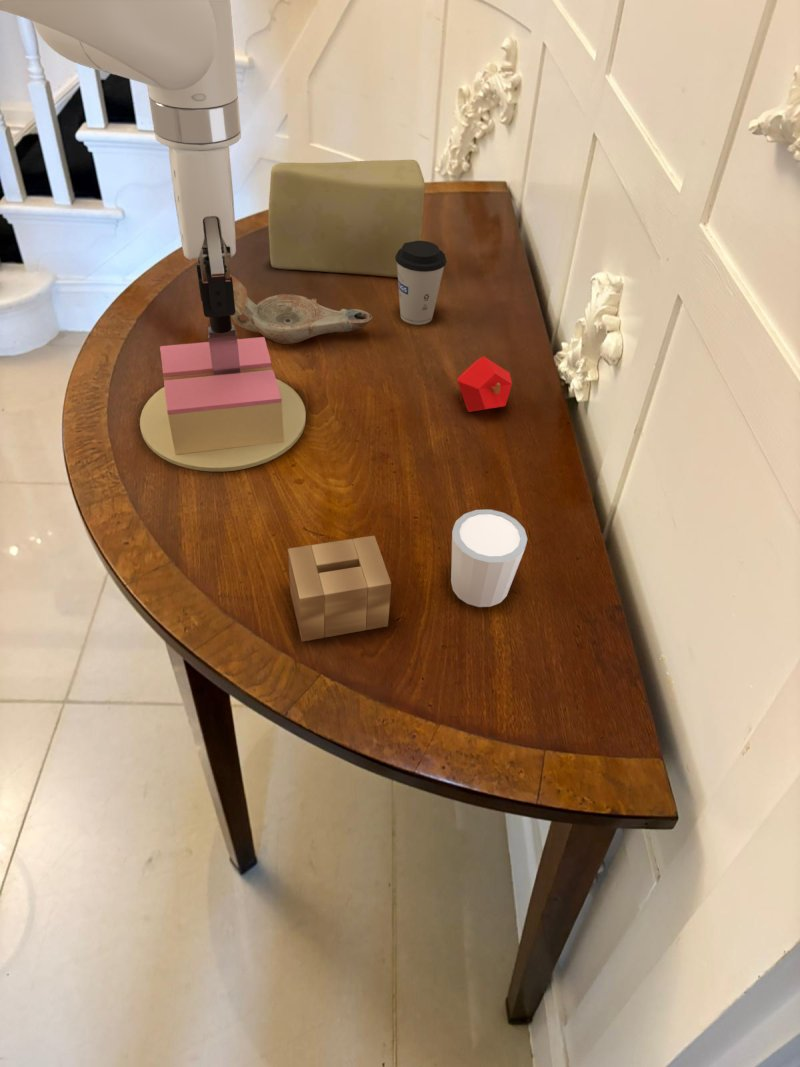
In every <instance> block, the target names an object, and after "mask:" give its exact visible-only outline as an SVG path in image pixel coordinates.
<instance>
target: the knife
mask: <svg viewBox="0 0 800 1067" xmlns="http://www.w3.org/2000/svg"><path fill="white" fill-rule="evenodd" d="M205 262H206V265H207V263H209V260H205ZM208 319H209V325H210V326H208V327H207V332H208V335H207V338H208V342H209V347H210V354H211V361H212V369H213V376H215V375H225V374H235V373H241V371H240V362H239V353H238V344H237V339H238V335H237V332H236V326H235V325H234V324H232V316H219V317H208Z"/></svg>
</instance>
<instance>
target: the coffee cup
mask: <svg viewBox="0 0 800 1067" xmlns="http://www.w3.org/2000/svg"><path fill="white" fill-rule="evenodd" d="M395 259H396V262H397V269H398V278H397V284H398V299H399V300H398V301H399V313H400V314H399V315H400V318H401V320H402V321H403V322H405V323H407V324H410V325H416V326H417V325H418V326H419V325H426V324H428V323H430V322H431V321H432V320H433V316H434V312H435V308H436V304H437V299H438V295H439V290H440V287H441V282H442V279H443V278H442V277H443V275H444V274H443V273H444V270H445V266H446V265H447V257H446V254H445V253H444V252H443V250H441V249H440V248H439V246H438V245H437V244H436V243H434V242H431V241H426V240H421V241H412V242H407V243H404V245H403V246H402V248H401V249H399V251H398V252H397V254H396V256H395Z"/></svg>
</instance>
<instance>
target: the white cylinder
mask: <svg viewBox="0 0 800 1067" xmlns="http://www.w3.org/2000/svg"><path fill="white" fill-rule="evenodd" d="M527 542H528V536H527V533H526V529H525V528H524V527H523V525H522V524H521V523H520V522H519V521H518V519H516V518H515V517H512V516H511V515H509V514H507V513H506V512H502V511H499V510H495V509H474V510H472V511H468V512H466V513H464V514H462V515H461V516H460V517H459V518H458V519H457V520H455V522H454V524H453V527H452V532H451V563H450V564H451V565H450V566H451V569H450V583H451V589H452V591H453V593H454V594H455V596H456V597H457V598H458V599H459V600H461V601H462V602H463V603H465V604H467V605H469V606H473V607H477V608H491V607H494V606H496V605H499V604H501V603H502V602H503V601H504V600H505V599H506V597H508V593H509V591H510V588H511V586H512V584H513V581H514V579H515V576H516V574H517V570H518V569H519V566H520V562H521V561H522V558H523V555H524V554H525V553H524V552H525V550H526V547H527Z"/></svg>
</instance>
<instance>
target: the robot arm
mask: <svg viewBox="0 0 800 1067" xmlns="http://www.w3.org/2000/svg"><path fill="white" fill-rule="evenodd" d="M0 11H3V12H5V13H8V14H11V15H15V16H17V17H20V18H24V19H26V20H29V21H31V22H32V24H33V26H34V28H35V29H36V31H37V33H38V35H39V36H40V38H41V39H42V40H43V41H44V42H45V43H46V45H47V46H48V47H50V49H52V50H53V51H54V52H55V53H57V54H58V55H59V56H61V57H63V58H65V59H66V60H69V61H70V62H73V63H75V64H78V65H80V66H83V67H87V68H88V69H92V70H97V71H100V72H103V73H106V74H111V75H115V76H119V77H121V78H125V79H129V80H132V81H135V82H138V83H141V84H145V85H147V90H148V98H149V105H150V112H151V117H152V125H153V129H154V137H155V140H156V141H157V142H159V143H160V144H161V145H164V146H166V147H167V148H168V159H169V168H170V169H169V170H170V175H171V177H170V178H171V183H172V190H173V198H174V204H175V212H176V217H177V218H176V219H177V224H178V230H179V236H180V237H179V238H180V242H181V247H182V254H183V256H184V257H185V259H187V260H188V261H193V259H197V261H198V264H196V273H197V280H198V288H199V295H200V301H201V303H202V310H203V315H204V317H206V318H209V317H219V316H231V315H234V314H235V301H234V291H233V281H232V277H230V275H231V270H230V261H229V258H231V259H232V258H233V257H234V256H235V254H236V253H237V242H236V240H237V238H236V218H235V201H234V200H235V199H234V189H233V177H232V165H231V154H230V146H233V145H235V144H237V143H238V142H239V141H240V139H241V138H242V129H241V115H240V106H239V96H238V95H239V93H238V80H237V66H236V54H235V44H234V43H235V42H234V29H233V16H232V3H231V0H0ZM205 260H209V263H207V265H206V262H205ZM231 317H232V316H231Z"/></svg>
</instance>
